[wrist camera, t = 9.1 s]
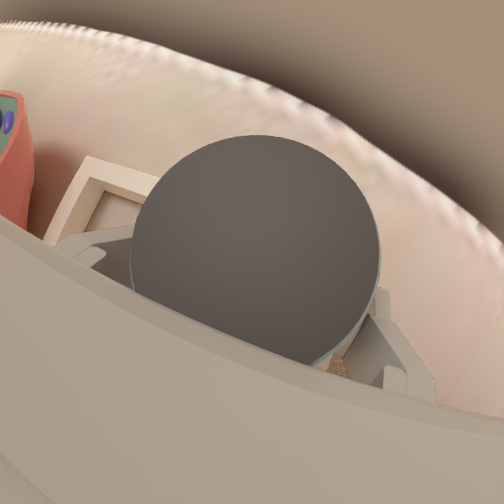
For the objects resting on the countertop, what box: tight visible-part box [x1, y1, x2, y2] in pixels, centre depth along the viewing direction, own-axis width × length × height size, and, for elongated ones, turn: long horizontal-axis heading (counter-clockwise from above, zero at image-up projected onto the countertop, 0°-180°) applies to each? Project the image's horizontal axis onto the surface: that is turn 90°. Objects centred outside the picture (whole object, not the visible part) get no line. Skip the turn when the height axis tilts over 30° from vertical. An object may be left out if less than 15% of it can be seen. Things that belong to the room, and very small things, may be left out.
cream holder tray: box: [42, 155, 333, 371], centre depth 19 cm, size 21×8×3 cm, turn 68°
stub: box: [130, 135, 381, 366], centre depth 11 cm, size 5×5×11 cm
